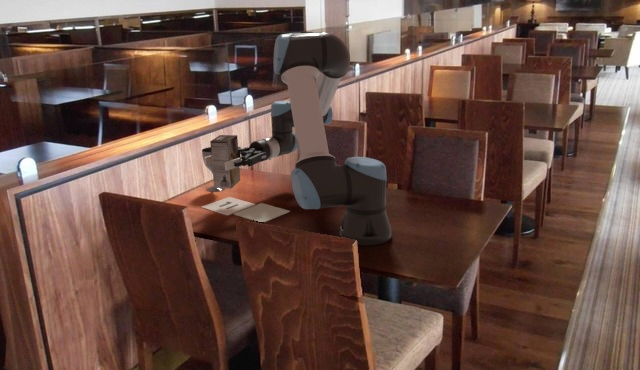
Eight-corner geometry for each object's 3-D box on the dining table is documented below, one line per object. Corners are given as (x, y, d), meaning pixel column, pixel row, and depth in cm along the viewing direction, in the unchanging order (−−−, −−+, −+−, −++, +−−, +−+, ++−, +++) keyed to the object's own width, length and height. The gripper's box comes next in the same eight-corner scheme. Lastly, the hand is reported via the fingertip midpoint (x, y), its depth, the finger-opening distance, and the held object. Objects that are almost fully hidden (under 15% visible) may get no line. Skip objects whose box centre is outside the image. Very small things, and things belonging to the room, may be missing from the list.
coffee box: (223, 180, 205) (219, 134, 200) (240, 180, 204) (238, 134, 199) (213, 188, 196) (209, 140, 191) (231, 189, 195) (228, 141, 190)
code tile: (255, 204, 203) (255, 204, 203) (227, 215, 194) (226, 214, 193) (229, 197, 211) (229, 196, 211) (201, 207, 201) (201, 206, 201)
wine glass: (203, 186, 223) (200, 147, 218) (224, 184, 225) (222, 146, 221) (206, 193, 216) (203, 153, 211) (228, 190, 218) (225, 151, 213)
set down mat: (289, 211, 196) (289, 210, 196) (262, 223, 186) (261, 222, 186) (261, 203, 204) (261, 202, 204) (233, 214, 194) (233, 213, 194)
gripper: (287, 165, 205) (239, 180, 189) (242, 155, 218) (194, 169, 202) (286, 143, 203) (237, 158, 186) (241, 135, 216) (192, 147, 200)
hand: (215, 163), depth 194 cm, fingers closed on coffee box, 9 cm apart
